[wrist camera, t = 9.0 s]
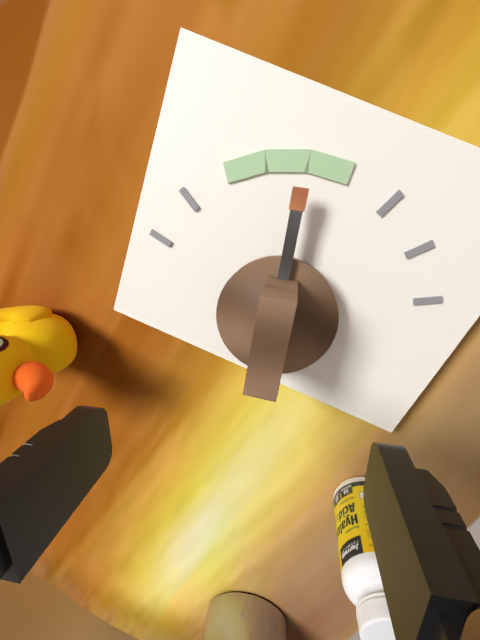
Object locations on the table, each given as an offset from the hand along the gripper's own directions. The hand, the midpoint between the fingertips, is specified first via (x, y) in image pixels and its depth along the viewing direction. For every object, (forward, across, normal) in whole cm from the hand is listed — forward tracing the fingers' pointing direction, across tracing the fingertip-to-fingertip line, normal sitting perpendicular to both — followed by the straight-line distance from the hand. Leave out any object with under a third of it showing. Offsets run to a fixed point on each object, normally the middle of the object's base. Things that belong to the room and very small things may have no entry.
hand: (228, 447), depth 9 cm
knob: (+13, -1, -2) cm, 13 cm away
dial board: (+15, -2, -4) cm, 15 cm away
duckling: (+15, +19, +3) cm, 24 cm away
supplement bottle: (+15, -9, +17) cm, 24 cm away
